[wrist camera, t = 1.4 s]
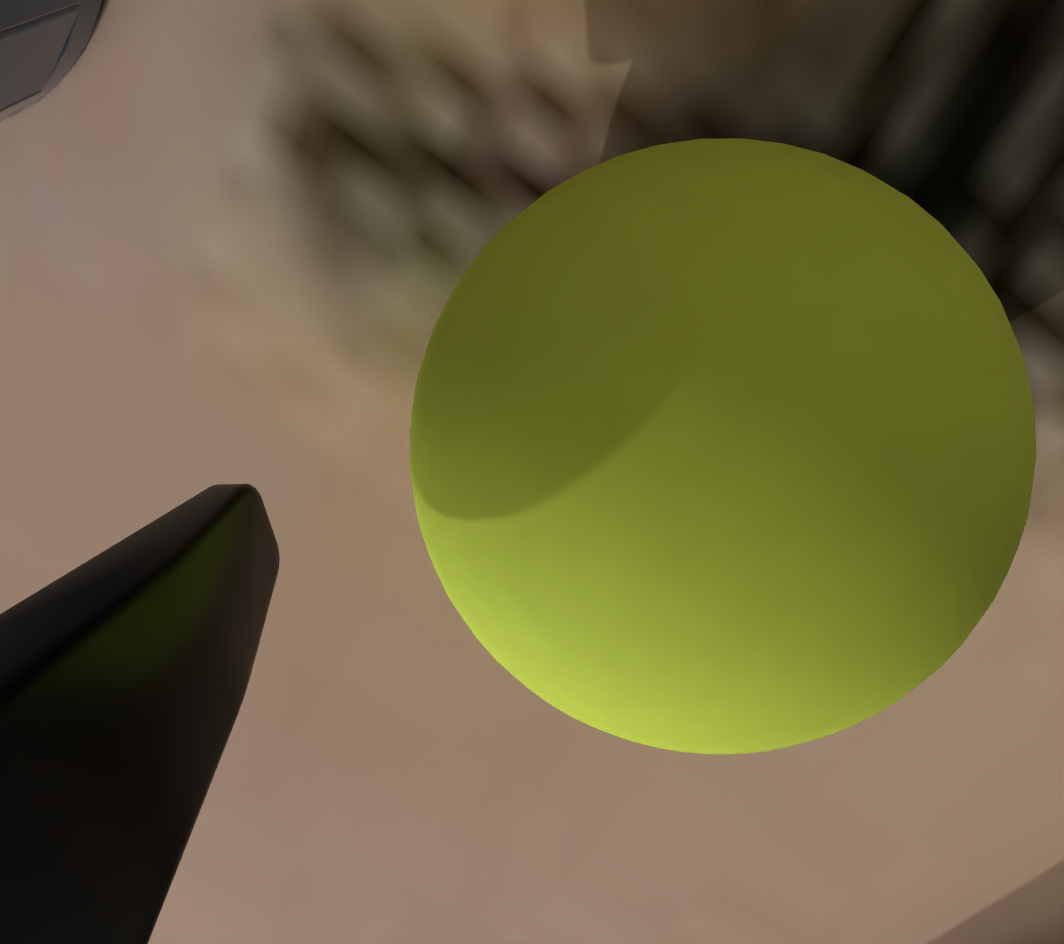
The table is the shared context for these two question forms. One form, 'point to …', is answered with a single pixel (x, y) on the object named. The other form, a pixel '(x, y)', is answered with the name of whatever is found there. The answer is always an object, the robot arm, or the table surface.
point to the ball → (722, 446)
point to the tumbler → (39, 47)
